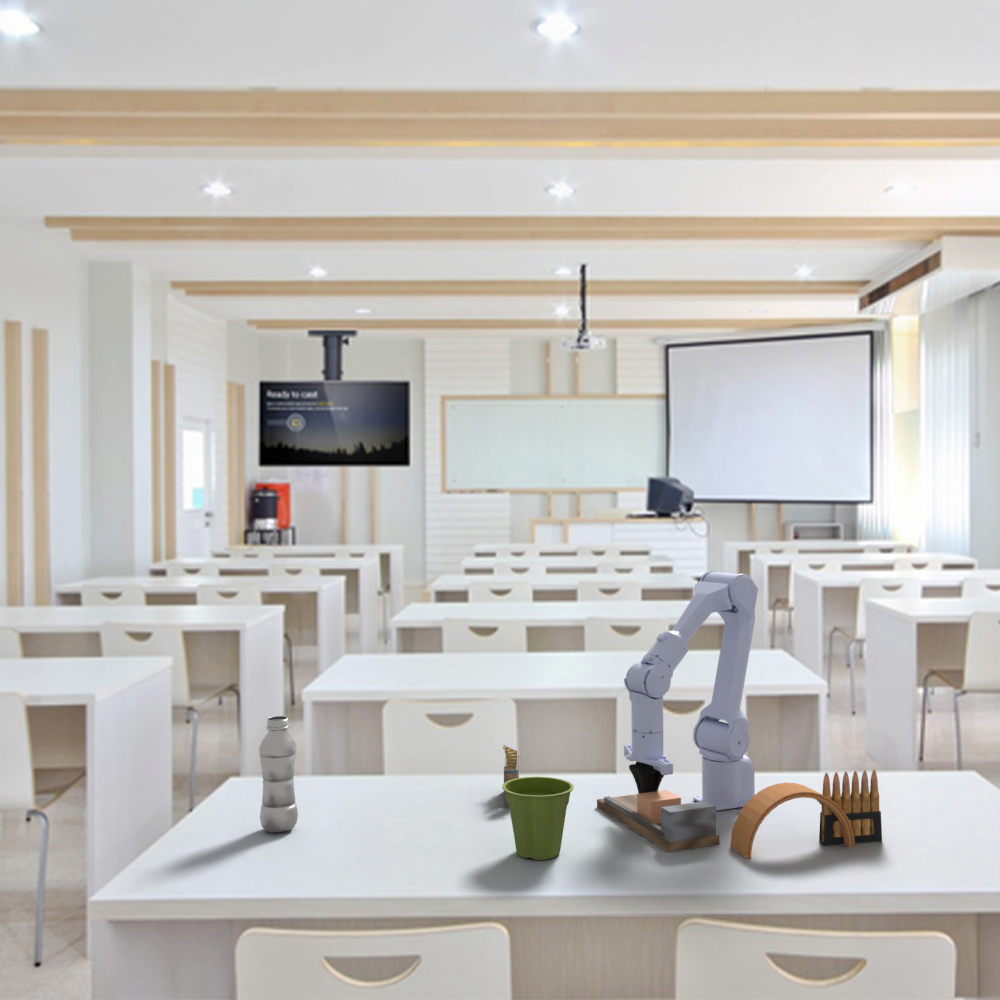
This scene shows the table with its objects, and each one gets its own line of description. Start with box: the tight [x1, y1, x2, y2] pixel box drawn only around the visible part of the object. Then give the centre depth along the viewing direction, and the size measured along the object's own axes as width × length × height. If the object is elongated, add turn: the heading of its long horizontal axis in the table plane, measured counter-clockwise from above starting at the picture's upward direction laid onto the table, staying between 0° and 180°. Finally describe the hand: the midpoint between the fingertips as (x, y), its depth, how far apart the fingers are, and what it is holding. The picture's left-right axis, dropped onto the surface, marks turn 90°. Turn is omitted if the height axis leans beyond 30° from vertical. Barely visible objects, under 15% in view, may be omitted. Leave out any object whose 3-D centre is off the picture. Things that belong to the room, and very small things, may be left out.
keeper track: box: [596, 793, 721, 853], centre depth 184 cm, size 10×26×6 cm, turn 21°
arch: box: [730, 782, 856, 859], centre depth 172 cm, size 6×20×10 cm, turn 104°
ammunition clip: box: [818, 769, 883, 846], centre depth 174 cm, size 11×2×12 cm, turn 101°
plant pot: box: [501, 776, 575, 861], centre depth 170 cm, size 12×12×11 cm
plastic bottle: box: [258, 715, 299, 833], centre depth 182 cm, size 6×7×20 cm
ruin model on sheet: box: [502, 744, 520, 809], centre depth 200 cm, size 11×3×10 cm, turn 178°
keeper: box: [636, 789, 682, 824], centre depth 182 cm, size 6×5×4 cm
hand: (647, 804), depth 186 cm, fingers closed
